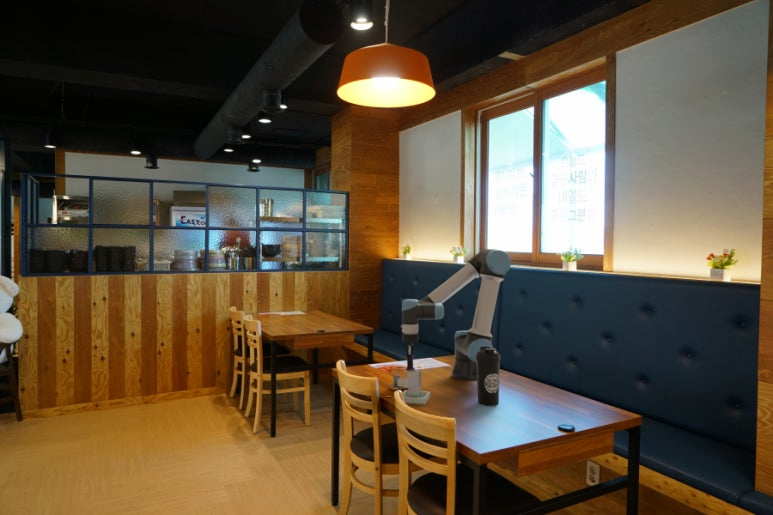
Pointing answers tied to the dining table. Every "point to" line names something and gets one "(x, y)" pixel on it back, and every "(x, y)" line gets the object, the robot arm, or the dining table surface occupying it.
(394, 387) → the crank base
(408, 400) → the tray
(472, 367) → the robot arm
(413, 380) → the white upright block
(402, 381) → the crank
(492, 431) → the dining table surface
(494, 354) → the water bottle
